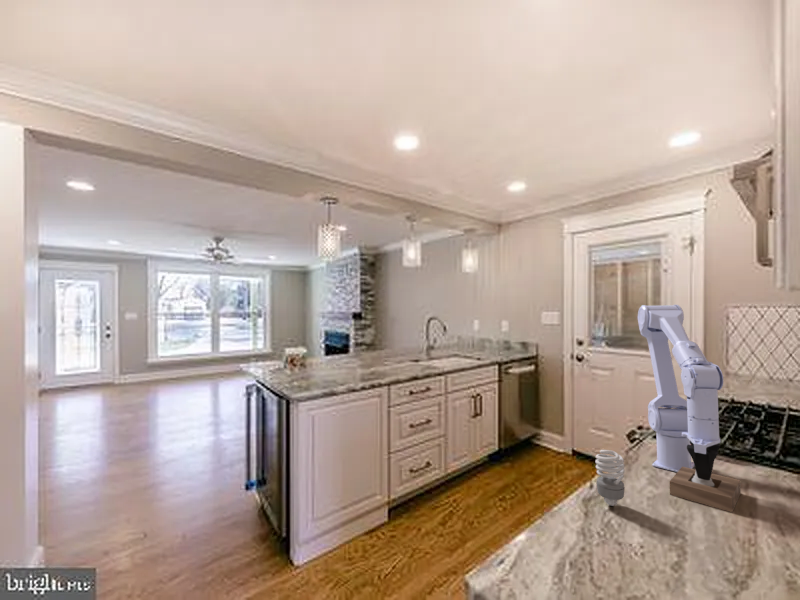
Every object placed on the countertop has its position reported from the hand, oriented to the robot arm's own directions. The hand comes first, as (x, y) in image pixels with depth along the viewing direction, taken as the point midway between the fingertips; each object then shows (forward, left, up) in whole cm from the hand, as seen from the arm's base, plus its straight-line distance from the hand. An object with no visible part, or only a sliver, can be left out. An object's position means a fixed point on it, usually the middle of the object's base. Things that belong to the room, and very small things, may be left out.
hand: (704, 476), depth 90 cm
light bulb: (+21, -13, -4) cm, 25 cm away
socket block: (0, 0, -4) cm, 4 cm away
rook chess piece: (0, 0, -3) cm, 3 cm away
